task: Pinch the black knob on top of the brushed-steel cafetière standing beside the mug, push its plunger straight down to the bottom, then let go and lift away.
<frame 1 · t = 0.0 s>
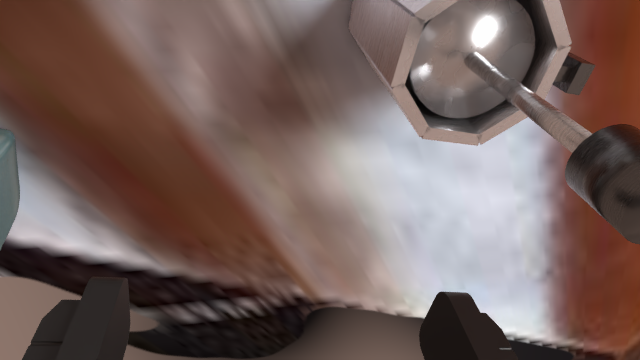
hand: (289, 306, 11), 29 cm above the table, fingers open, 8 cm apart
plunger: (535, 108, 20), point 20 cm above the table, slide at 0.0 cm
carafe: (408, 11, 36), on the table
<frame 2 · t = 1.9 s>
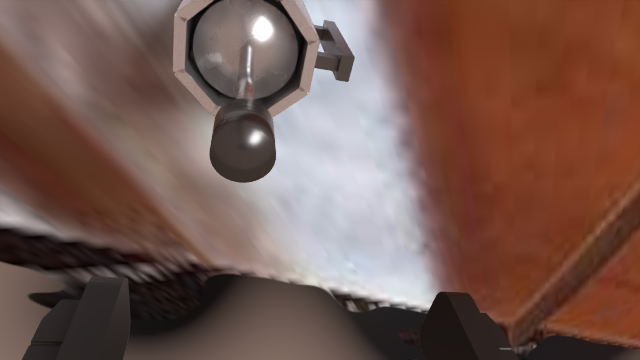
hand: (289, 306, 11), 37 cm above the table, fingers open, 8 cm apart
plunger: (245, 89, 26), point 20 cm above the table, slide at 0.0 cm
carafe: (248, 8, 42), on the table
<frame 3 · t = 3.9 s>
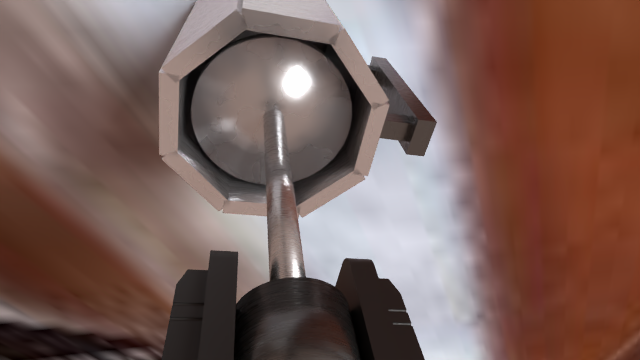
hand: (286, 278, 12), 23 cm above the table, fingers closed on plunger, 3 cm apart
plunger: (281, 206, 15), point 20 cm above the table, slide at 0.0 cm, touching gripper
carafe: (266, 41, 31), on the table
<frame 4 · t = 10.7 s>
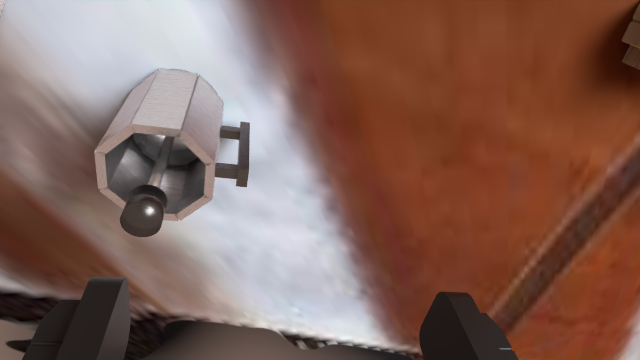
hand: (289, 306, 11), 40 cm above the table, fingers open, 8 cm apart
plunger: (159, 169, 39), point 13 cm above the table, slide at 7.0 cm
carafe: (179, 110, 50), on the table
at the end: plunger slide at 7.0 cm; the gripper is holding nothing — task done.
